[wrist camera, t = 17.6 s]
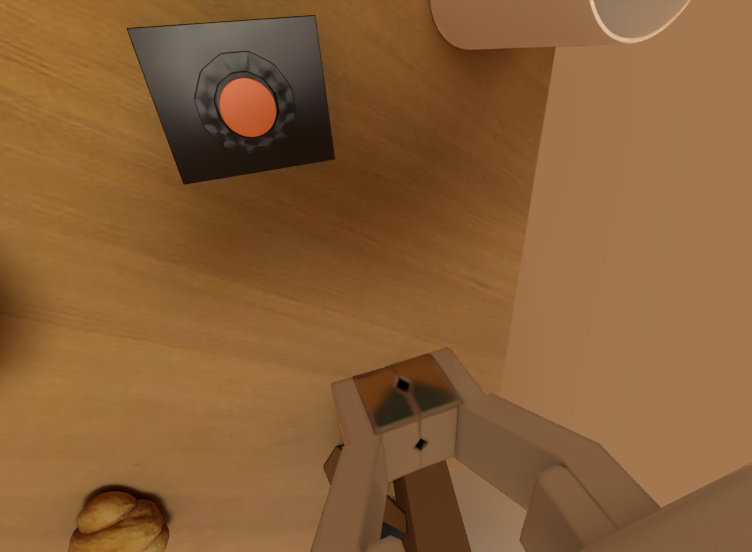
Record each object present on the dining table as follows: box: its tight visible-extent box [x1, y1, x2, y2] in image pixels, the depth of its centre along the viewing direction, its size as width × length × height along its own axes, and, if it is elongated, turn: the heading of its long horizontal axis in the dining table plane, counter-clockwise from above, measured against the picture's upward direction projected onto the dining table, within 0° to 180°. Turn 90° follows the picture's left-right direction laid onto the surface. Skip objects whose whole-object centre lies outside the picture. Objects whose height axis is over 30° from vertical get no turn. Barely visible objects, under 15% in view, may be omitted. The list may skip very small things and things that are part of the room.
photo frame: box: [324, 447, 471, 552], centre depth 43 cm, size 15×22×25 cm
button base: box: [127, 15, 335, 184], centre depth 27 cm, size 12×10×4 cm
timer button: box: [219, 77, 276, 137], centre depth 25 cm, size 4×4×2 cm
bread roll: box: [68, 491, 169, 552], centre depth 43 cm, size 13×10×8 cm
